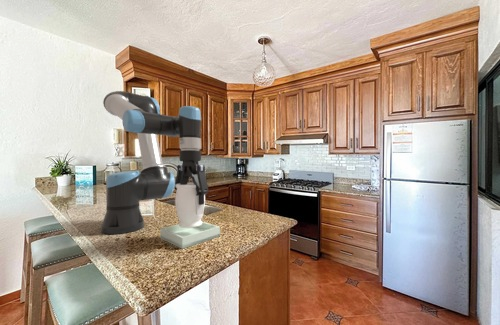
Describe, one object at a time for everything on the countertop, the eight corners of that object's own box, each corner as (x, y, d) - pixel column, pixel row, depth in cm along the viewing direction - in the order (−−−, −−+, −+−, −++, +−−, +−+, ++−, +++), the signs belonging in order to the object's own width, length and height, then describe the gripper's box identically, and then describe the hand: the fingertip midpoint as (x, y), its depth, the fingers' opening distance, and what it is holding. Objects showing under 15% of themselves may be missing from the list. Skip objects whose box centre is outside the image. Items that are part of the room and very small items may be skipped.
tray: (160, 238, 78) (160, 228, 78) (196, 228, 89) (196, 219, 89) (182, 249, 68) (182, 237, 68) (219, 236, 80) (219, 226, 80)
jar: (197, 230, 72) (197, 185, 72) (169, 228, 74) (169, 184, 74) (209, 221, 83) (209, 182, 83) (184, 220, 85) (184, 182, 85)
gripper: (164, 151, 83) (165, 208, 83) (200, 148, 68) (201, 218, 68) (182, 151, 89) (182, 205, 89) (219, 149, 74) (219, 214, 74)
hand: (190, 211), depth 79 cm, fingers closed on jar, 10 cm apart
